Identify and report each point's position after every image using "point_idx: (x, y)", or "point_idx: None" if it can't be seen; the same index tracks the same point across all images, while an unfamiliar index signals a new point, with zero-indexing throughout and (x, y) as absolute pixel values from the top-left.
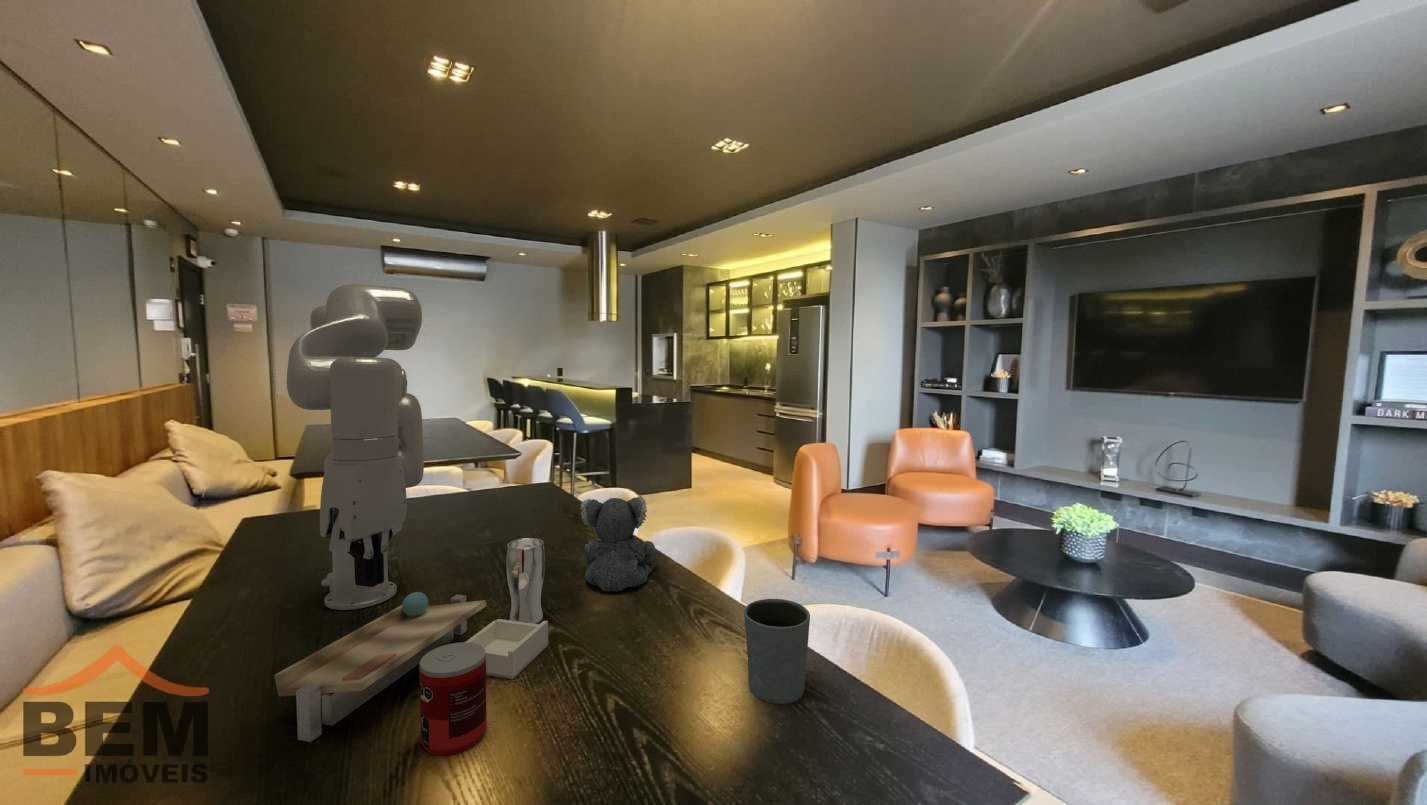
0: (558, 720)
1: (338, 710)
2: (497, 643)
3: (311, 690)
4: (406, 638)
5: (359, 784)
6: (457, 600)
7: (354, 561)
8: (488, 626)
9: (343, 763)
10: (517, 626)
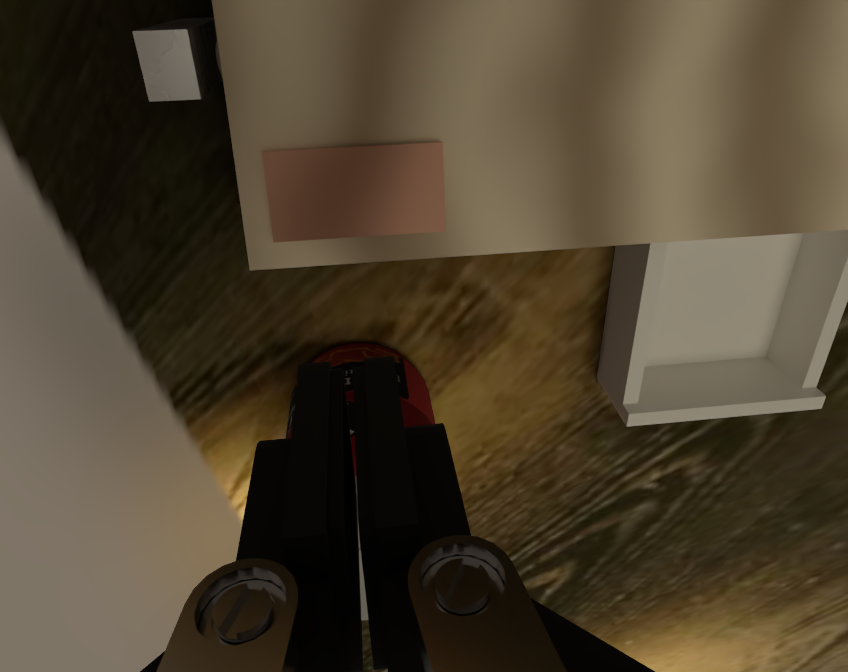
0: None
1: None
2: None
3: (167, 92)
4: (603, 117)
5: (158, 334)
6: None
7: (286, 491)
8: None
9: (183, 243)
10: (822, 306)
